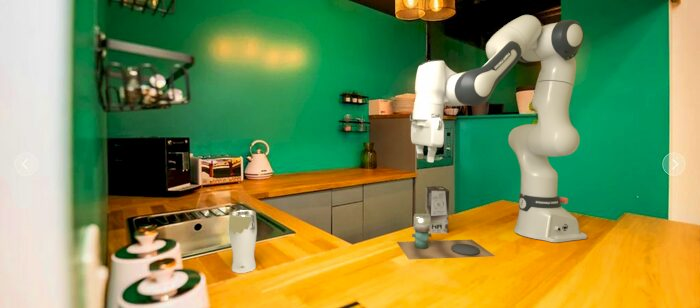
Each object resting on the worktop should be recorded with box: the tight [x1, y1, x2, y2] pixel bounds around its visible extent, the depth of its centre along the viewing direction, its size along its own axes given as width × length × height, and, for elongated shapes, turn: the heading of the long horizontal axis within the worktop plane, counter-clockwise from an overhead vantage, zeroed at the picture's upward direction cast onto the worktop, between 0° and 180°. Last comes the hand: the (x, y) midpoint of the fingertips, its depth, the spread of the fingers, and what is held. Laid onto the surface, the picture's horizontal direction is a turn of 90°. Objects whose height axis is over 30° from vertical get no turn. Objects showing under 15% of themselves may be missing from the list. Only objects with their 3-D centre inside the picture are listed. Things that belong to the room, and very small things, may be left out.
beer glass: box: [228, 209, 258, 274], centre depth 86 cm, size 7×7×15 cm
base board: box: [396, 230, 495, 260], centre depth 97 cm, size 25×14×7 cm, turn 96°
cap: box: [413, 213, 431, 233], centre depth 98 cm, size 5×5×5 cm
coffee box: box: [424, 185, 450, 234], centre depth 116 cm, size 9×6×16 cm
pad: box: [451, 244, 480, 256], centre depth 96 cm, size 8×8×1 cm
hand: (424, 160), depth 99 cm, fingers open, 8 cm apart
